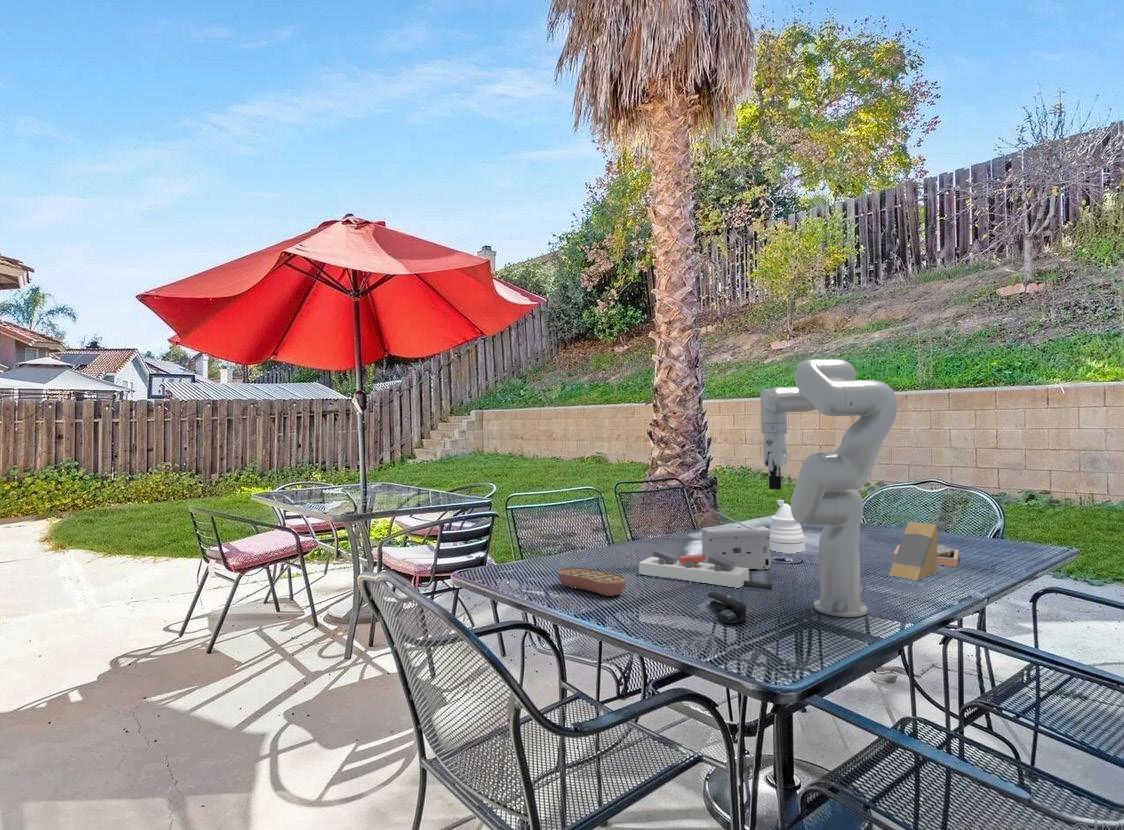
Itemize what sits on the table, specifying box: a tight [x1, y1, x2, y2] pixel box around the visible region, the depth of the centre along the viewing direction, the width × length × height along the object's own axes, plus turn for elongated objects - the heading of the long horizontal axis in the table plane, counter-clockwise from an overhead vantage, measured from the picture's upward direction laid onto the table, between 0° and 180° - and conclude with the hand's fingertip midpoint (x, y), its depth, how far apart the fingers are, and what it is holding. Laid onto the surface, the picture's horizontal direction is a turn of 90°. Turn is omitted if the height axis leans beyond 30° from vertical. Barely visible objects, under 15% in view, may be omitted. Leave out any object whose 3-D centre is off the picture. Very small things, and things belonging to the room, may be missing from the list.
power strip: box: [638, 556, 774, 589], centre depth 195 cm, size 9×40×6 cm, turn 57°
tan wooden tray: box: [892, 544, 959, 568], centre depth 214 cm, size 15×18×2 cm
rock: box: [937, 544, 954, 558], centre depth 215 cm, size 13×10×5 cm
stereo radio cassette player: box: [701, 508, 771, 570], centre depth 208 cm, size 21×8×20 cm, turn 92°
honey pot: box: [769, 499, 806, 554], centre depth 233 cm, size 13×13×18 cm
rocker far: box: [652, 548, 680, 564], centre depth 202 cm, size 4×7×2 cm, turn 57°
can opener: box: [707, 591, 747, 624], centre depth 162 cm, size 18×7×6 cm, turn 9°
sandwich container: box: [888, 521, 938, 581], centre depth 196 cm, size 9×15×15 cm, turn 129°
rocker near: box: [708, 554, 735, 571], centre depth 192 cm, size 4×7×2 cm, turn 57°
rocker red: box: [678, 553, 706, 564], centre depth 197 cm, size 4×7×2 cm, turn 57°
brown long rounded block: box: [557, 566, 627, 597], centre depth 186 cm, size 23×10×5 cm, turn 47°
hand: (775, 488), depth 196 cm, fingers closed
